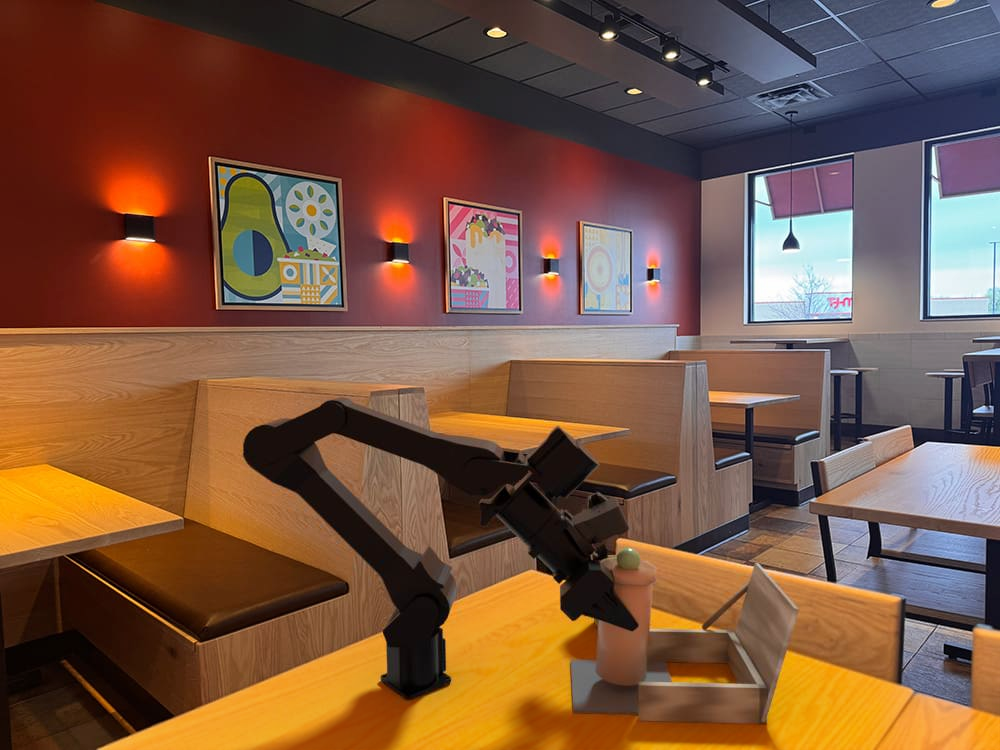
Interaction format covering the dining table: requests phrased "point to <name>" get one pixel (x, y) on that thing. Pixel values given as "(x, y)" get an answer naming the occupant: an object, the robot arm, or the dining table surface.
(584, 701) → the mat
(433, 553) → the robot arm
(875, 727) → the dining table surface
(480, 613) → the dining table surface
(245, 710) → the dining table surface
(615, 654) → the pink lidded canister
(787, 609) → the brown open rectangular box
